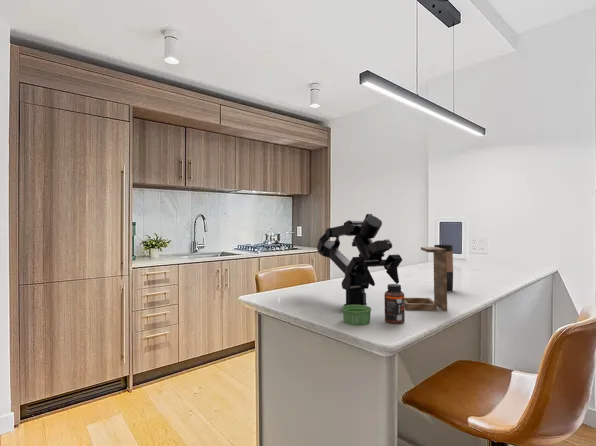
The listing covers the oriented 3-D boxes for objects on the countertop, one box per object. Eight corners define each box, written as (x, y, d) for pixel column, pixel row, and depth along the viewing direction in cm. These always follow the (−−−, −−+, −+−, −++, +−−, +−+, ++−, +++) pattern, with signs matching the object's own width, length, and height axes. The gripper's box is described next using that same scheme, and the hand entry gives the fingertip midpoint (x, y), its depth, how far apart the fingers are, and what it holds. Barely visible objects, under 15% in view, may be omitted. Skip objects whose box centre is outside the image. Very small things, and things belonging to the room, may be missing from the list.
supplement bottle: (405, 324, 104) (405, 286, 104) (385, 323, 105) (384, 286, 105) (403, 319, 109) (403, 283, 109) (384, 318, 111) (383, 283, 111)
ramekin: (377, 322, 107) (377, 308, 107) (356, 328, 101) (356, 313, 101) (356, 316, 114) (356, 303, 114) (336, 321, 109) (335, 307, 109)
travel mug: (453, 289, 156) (452, 244, 156) (453, 292, 149) (452, 245, 149) (435, 288, 159) (434, 244, 159) (434, 291, 152) (433, 245, 152)
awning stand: (405, 309, 121) (405, 249, 121) (400, 302, 132) (399, 247, 132) (447, 310, 119) (446, 249, 119) (438, 303, 130) (437, 247, 130)
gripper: (351, 232, 112) (371, 270, 102) (398, 230, 119) (421, 266, 109) (339, 254, 120) (357, 292, 109) (384, 252, 127) (405, 287, 116)
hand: (386, 284), depth 111 cm, fingers open, 9 cm apart
